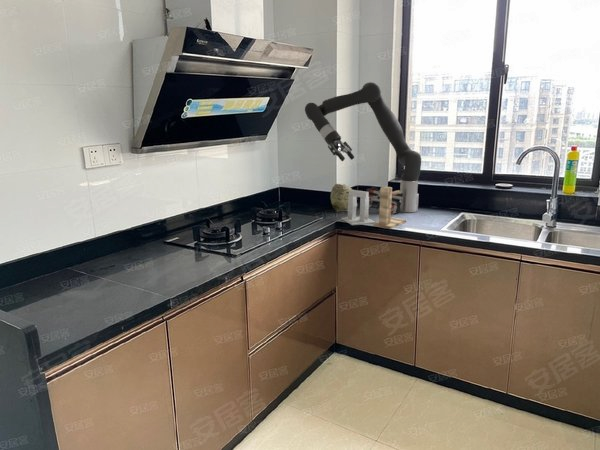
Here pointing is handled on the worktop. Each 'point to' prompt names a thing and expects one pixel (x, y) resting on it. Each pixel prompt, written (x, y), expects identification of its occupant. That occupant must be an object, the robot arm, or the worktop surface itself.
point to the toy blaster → (375, 196)
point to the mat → (357, 221)
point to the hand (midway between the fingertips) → (348, 159)
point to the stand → (387, 209)
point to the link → (363, 204)
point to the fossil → (340, 197)
